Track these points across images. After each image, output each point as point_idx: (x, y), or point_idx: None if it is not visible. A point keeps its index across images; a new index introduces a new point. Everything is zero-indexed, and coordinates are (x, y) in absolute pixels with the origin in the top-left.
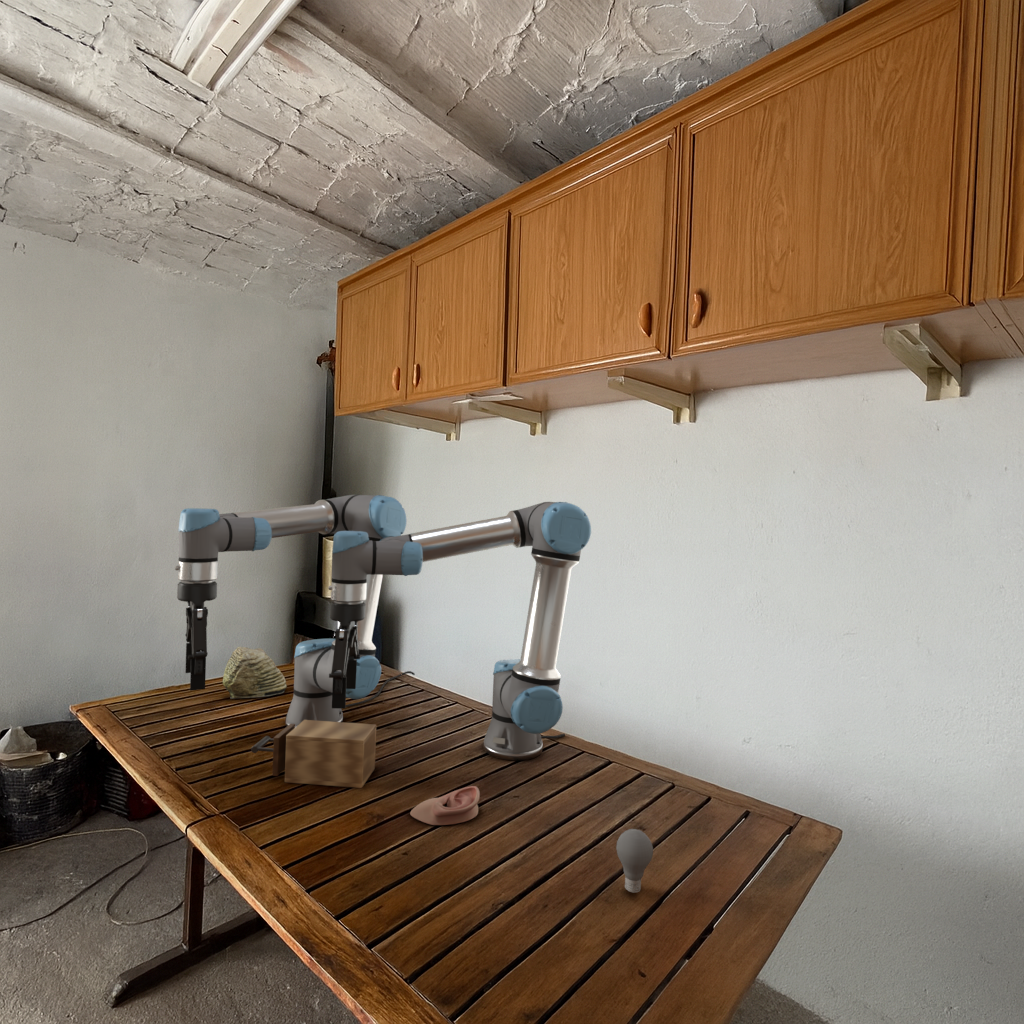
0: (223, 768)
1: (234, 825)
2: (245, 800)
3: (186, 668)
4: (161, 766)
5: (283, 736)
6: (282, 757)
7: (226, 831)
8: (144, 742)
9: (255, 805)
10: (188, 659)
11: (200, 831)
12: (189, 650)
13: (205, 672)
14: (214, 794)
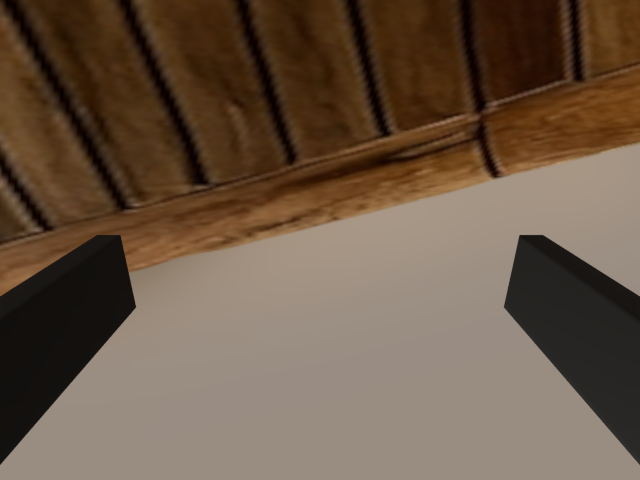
0: (232, 75)
1: (554, 90)
2: (448, 47)
3: (118, 320)
4: (173, 212)
5: None
6: None
7: (568, 109)
8: (8, 242)
9: (488, 27)
10: (79, 352)
11: (534, 158)
12: (23, 407)
13: (626, 288)
14: (378, 114)
